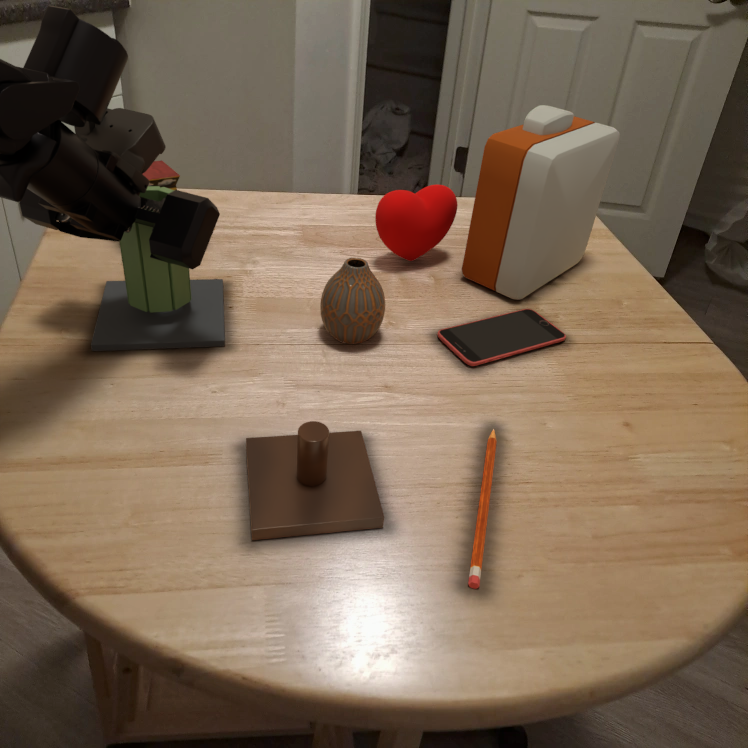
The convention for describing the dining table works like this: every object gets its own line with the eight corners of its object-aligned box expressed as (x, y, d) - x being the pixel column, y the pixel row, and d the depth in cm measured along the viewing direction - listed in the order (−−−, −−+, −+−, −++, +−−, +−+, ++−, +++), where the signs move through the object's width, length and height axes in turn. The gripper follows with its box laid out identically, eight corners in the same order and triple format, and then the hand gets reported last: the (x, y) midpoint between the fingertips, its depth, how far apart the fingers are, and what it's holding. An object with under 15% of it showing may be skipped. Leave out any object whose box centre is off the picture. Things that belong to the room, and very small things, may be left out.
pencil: (467, 587, 48) (469, 581, 47) (488, 430, 62) (490, 424, 61) (478, 590, 47) (480, 584, 47) (497, 432, 62) (498, 426, 61)
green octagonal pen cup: (161, 318, 67) (149, 217, 61) (115, 299, 69) (99, 199, 63) (203, 294, 72) (196, 197, 66) (158, 276, 74) (147, 181, 68)
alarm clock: (529, 240, 97) (566, 92, 85) (583, 261, 92) (630, 109, 80) (457, 279, 85) (487, 114, 73) (515, 306, 81) (558, 135, 68)
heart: (434, 245, 92) (445, 175, 86) (457, 262, 89) (470, 190, 83) (362, 259, 87) (368, 186, 81) (384, 278, 83) (392, 202, 77)
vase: (352, 311, 76) (357, 241, 71) (394, 337, 73) (403, 266, 67) (306, 330, 72) (308, 258, 67) (348, 359, 69) (354, 285, 63)
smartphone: (570, 336, 75) (471, 364, 69) (568, 341, 75) (470, 369, 69) (530, 306, 79) (434, 330, 73) (529, 310, 80) (433, 334, 74)
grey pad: (91, 351, 66) (90, 344, 65) (107, 286, 76) (106, 280, 75) (225, 346, 68) (224, 340, 68) (223, 284, 79) (222, 278, 78)
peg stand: (252, 540, 49) (250, 484, 45) (246, 448, 57) (244, 393, 53) (383, 527, 51) (391, 473, 48) (360, 440, 59) (365, 387, 55)
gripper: (200, 106, 52) (269, 195, 67) (14, 65, 57) (117, 158, 72) (149, 234, 51) (231, 296, 66) (-37, 182, 55) (79, 251, 70)
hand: (163, 246), depth 69 cm, fingers closed on green octagonal pen cup, 6 cm apart
